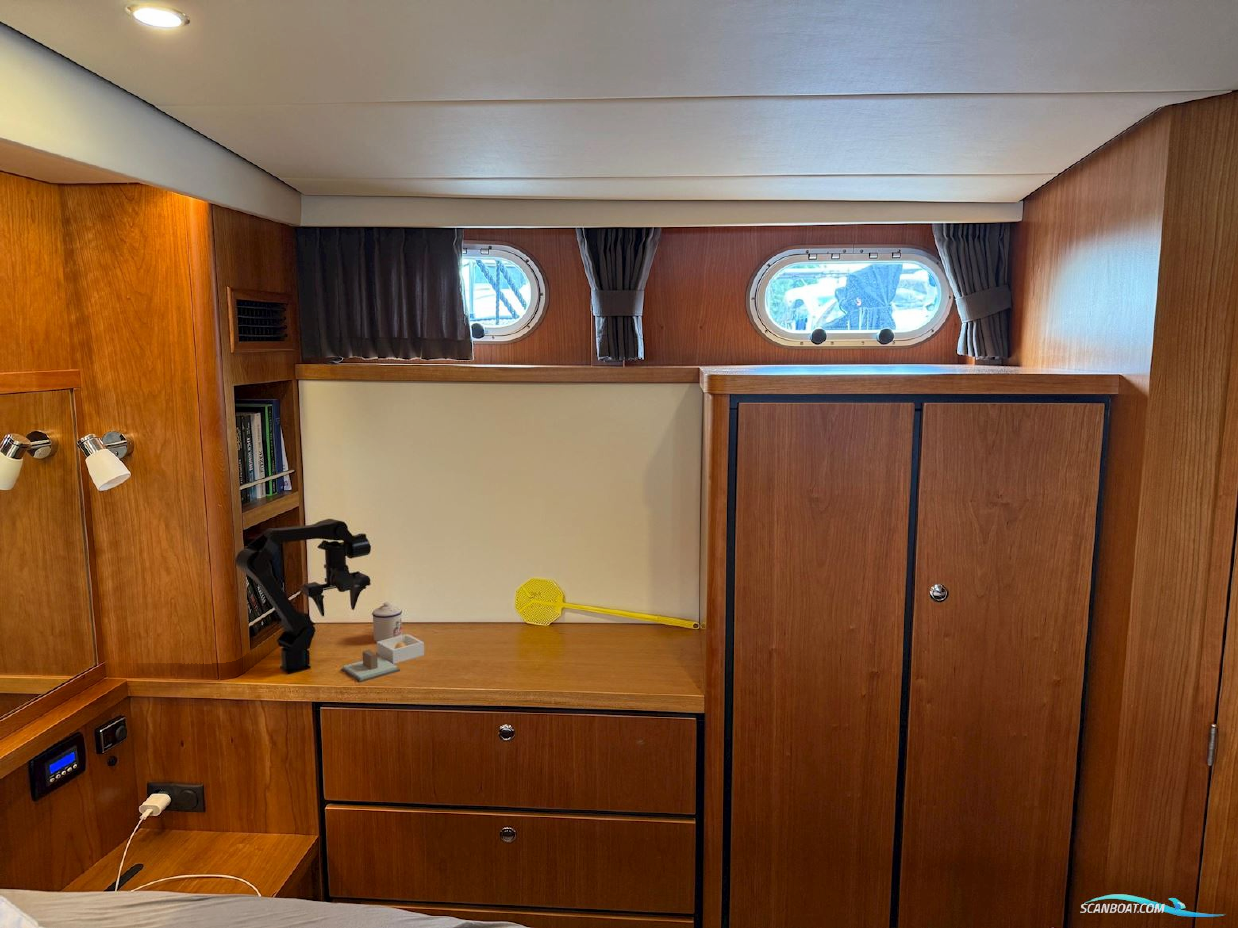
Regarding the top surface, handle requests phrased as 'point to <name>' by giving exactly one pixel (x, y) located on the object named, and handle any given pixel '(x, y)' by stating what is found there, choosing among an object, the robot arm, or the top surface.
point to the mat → (369, 677)
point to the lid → (370, 666)
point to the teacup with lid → (387, 622)
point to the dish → (400, 648)
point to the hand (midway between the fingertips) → (338, 612)
